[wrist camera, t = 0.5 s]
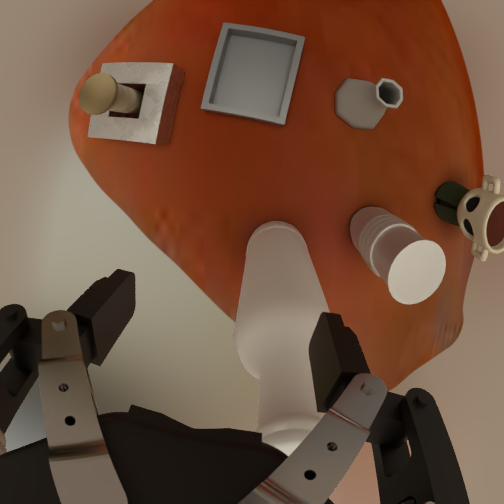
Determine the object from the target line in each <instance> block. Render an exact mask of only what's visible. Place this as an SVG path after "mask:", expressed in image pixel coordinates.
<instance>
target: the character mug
mask: <svg viewBox="0 0 504 504" xmlns="http://www.w3.org/2000/svg"><path fill="white" fill-rule="evenodd" d="M489 183H491V184H493V192H492V191H489V190H488V185H489ZM499 192H500V180H499V179H498V178H497V177H493V176H489V175H484V176H483V179H482V188H476V189H472V190H468V189H466V188H465V187H463V186H461V185H459V184H457V183H455V182H446V183H445V184H444V185H442V186H441V187H440V188H439V190H438V192H437V194H436V197H437V198H439V199H441V200H440V205H439V204H437V203H435V209H436V213H437V214H438V216H439V217H440V218H441V219H442V220H444V221H446V222H449V223H451V224H454V225H457V226H460V229H461V231H462V232H463V234H464V235H465V236H466V237H467V238H469V239H470V240H472V241H473V243H472V247H471V253H472V255H474V256H475V257H476V258H478V259H479V260H481V261H483V262H485V260H486V258H487V256H488V252H489V251H490V252H492V253H495V254H498V253H501V252H503V251H504V196H503V195H500V194H499ZM478 245H480V246H482V247H483V249H482V253H481V252H479V251H478Z"/></svg>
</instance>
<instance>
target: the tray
mask: <svg viewBox="0 0 504 504" xmlns="http://www.w3.org/2000/svg"><path fill="white" fill-rule="evenodd" d="M304 41H305V37H303V36H299V35H295V34H290V33H286V32H281V31H276V30H271V29H266V28H260V27H254V26H247V25H240V24H232V23H223V26H222V29H221V32H220V36H219V39H218V43H217V46H216V50H215V53H214V57H213V61H212V64H211V68H210V72H209V76H208V80H207V84H206V88H205V92H204V96H203V100H202V104H201V109H202V110H204V111H207V112H214V113H220V114H226V115H232V116H237V117H242V118H247V119H252V120H257V121H262V122H266V123H271V124H275V125H279V126H284V125H285V120H286V116H287V112H288V108H289V104H290V99H291V95H292V91H293V87H294V83H295V79H296V74H297V70H298V66H299V62H300V57H301V53H302V49H303V45H304Z"/></svg>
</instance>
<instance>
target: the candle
mask: <svg viewBox="0 0 504 504" xmlns="http://www.w3.org/2000/svg"><path fill="white" fill-rule="evenodd" d="M350 234H351V239H352V242H353V244H354V246H355V248H356V249H357V250H358V251H360V255H361V257H362V258H363V260H364V261H365V262H366V264H367V265H368V266H369V268H370V269H371V270H372V272H373V273H374V274H375V275H376V276H378V277H381V278H382V279H383V280H384V281H385V283H386V284H387V287H388V290H389V292H390V293H391V295H392V297H393V298H395V299H396V300H397V301H398V302H401V303H403V304H415V303H419V302H421V301H423V300H425V299H426V298H428V297H429V296H430V295H432V294H433V293H434V291H435V290H436V289H437V288H438V286H439V285H440V283H441V281H442V279H443V276H444V273H445V267H446V261H445V255H444V253H443V250H442V249H441V248H440V246H439V245H438V244H436V243H435V242H433V241H431V240H428V239H425V238H423V237H422V236H421V235H419V234H418V232H417V231H416V230H415V228H414V227H413V226H411V225H409V224H408V223H407V222H405V221H404V220H402V219H400V218H399V217H397V216H395V215H394V214H391V213H390V212H388V211H387V210H385V209H383V208H379V207H365V208H362V209H361V210H359V211H358V212H357V213H356V214H355V215H354V216H353V218H352V220H351V223H350Z"/></svg>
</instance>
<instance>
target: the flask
mask: <svg viewBox="0 0 504 504" xmlns="http://www.w3.org/2000/svg"><path fill="white" fill-rule="evenodd" d="M402 101H403V89H402V88H401V87H400V86H399V85H398V84H397V83H396V82H395V81H394V80H390V79H385V78H381V79H380V81H379V82H378V83H377V84H373V83H371V82H369V81H365V80H358V79H349V78H346V79H345V81H344V82H343V83H342V84H341V86H340V87H339V88H338V89H337V91H336V92H335V114H336V115H337V116H339V117H340V118H341V119H342V120H344V121H345V122H346V123H347V124H348V125H350V126H351V127H352V128H359V129H370V130H373V129H374V127H375V126H376V125H377V123H378V122H379V121H380V119H381V118H382V117H383V115H384V113H385V111H386V109H387V108H388V107H390V108H398V106H399V105H400V104H401V102H402Z"/></svg>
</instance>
